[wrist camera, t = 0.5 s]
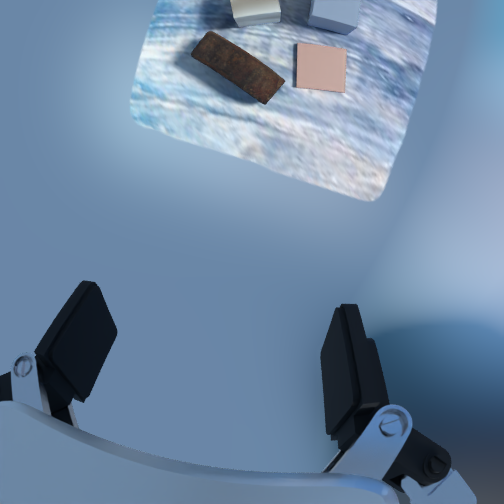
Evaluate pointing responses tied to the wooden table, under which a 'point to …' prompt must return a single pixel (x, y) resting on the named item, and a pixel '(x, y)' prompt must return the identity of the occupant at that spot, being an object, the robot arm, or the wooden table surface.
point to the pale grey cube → (255, 12)
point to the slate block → (335, 15)
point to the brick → (238, 66)
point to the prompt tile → (321, 67)
